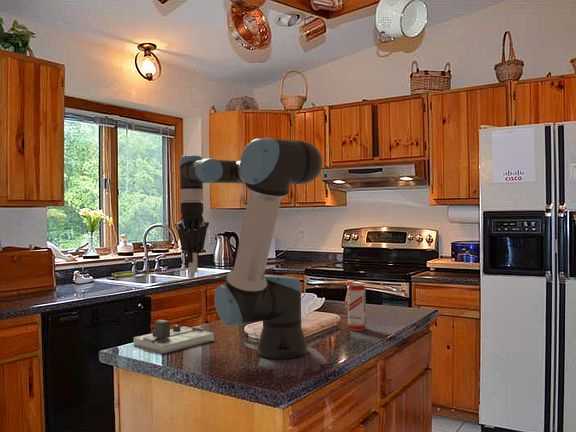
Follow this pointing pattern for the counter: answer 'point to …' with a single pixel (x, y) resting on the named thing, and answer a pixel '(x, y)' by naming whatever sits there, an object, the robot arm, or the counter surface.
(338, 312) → the counter surface
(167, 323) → the fader tab
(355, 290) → the beer can
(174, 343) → the console
